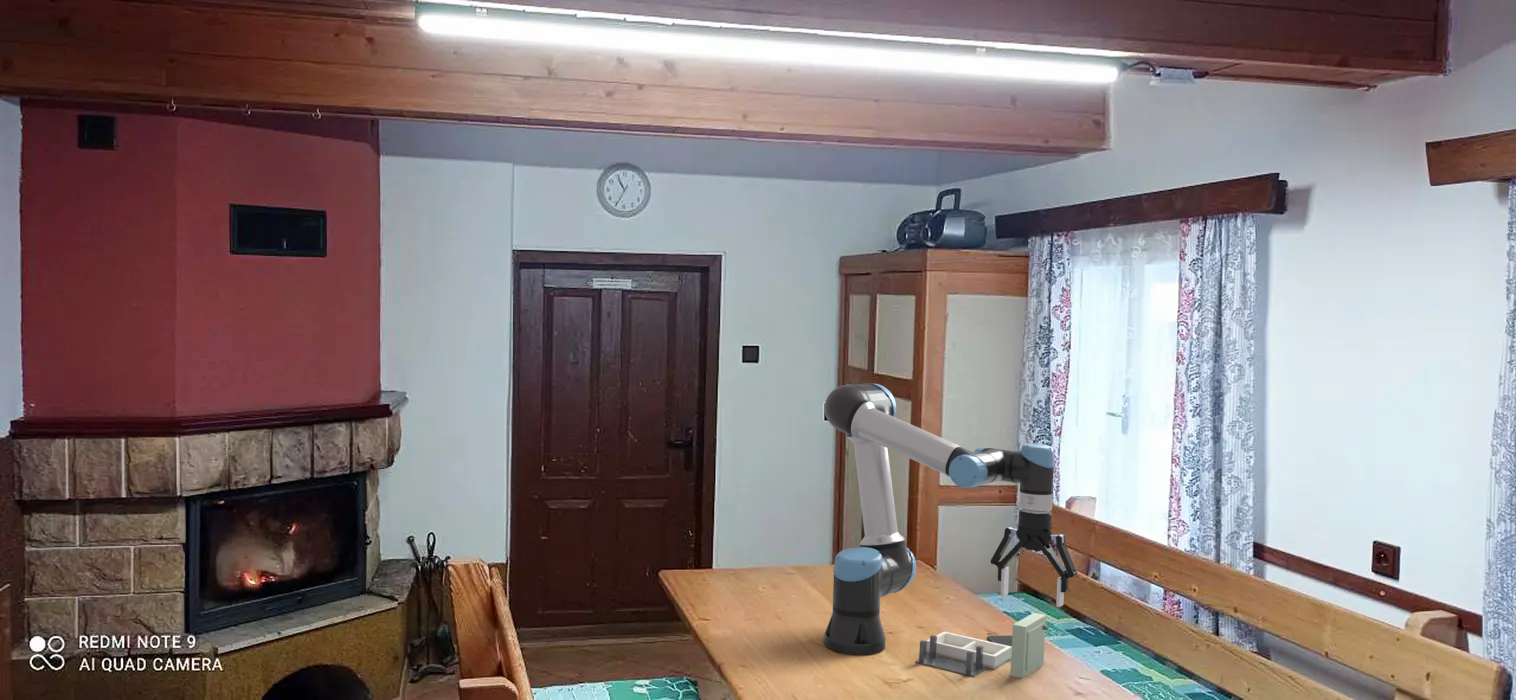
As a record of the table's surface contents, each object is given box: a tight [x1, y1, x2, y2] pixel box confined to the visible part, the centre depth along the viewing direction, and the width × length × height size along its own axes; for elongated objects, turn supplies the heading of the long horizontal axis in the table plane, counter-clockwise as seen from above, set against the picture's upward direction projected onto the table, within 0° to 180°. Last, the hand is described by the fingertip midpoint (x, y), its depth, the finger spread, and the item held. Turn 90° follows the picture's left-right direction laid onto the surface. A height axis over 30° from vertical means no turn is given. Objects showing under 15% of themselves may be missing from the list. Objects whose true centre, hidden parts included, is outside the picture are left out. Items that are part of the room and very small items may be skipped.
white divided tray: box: [926, 631, 1012, 670], centre depth 267 cm, size 18×10×3 cm, turn 55°
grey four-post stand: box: [914, 634, 987, 678], centre depth 259 cm, size 15×7×5 cm, turn 55°
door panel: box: [1010, 612, 1049, 679], centre depth 258 cm, size 13×4×12 cm, turn 145°
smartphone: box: [986, 634, 1012, 647], centre depth 276 cm, size 7×1×15 cm
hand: (1031, 600), depth 258 cm, fingers open, 13 cm apart
